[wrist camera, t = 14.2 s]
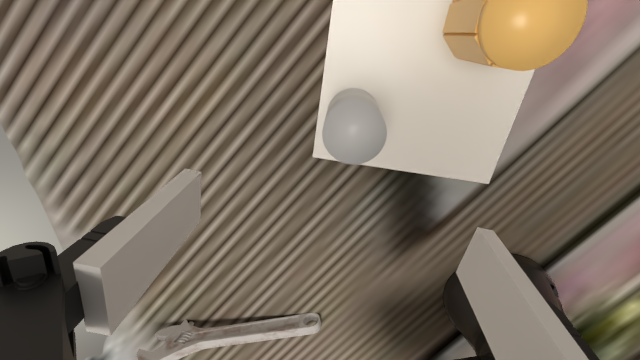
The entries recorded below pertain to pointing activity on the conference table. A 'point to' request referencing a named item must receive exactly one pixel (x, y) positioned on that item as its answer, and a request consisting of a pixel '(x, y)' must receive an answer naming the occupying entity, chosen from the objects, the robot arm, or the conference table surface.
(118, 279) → the robot arm
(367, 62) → the plate
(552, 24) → the wire cap
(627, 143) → the conference table surface
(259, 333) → the wrench
